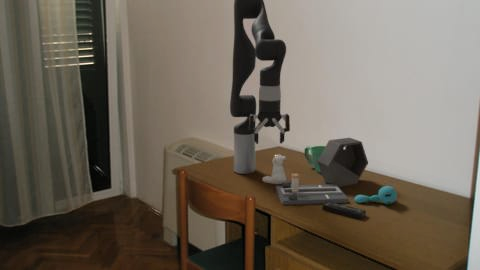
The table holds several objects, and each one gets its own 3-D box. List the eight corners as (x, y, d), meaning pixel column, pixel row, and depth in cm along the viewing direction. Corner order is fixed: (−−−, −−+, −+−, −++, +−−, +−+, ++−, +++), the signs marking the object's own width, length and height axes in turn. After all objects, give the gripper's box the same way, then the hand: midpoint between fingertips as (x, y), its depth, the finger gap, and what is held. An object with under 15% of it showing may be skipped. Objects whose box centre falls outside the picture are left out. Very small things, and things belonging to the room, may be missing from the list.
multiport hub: (360, 221, 166) (360, 214, 166) (322, 210, 175) (322, 204, 175) (366, 217, 170) (366, 210, 169) (328, 207, 178) (328, 201, 178)
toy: (356, 211, 177) (399, 203, 173) (352, 193, 178) (395, 184, 174) (357, 209, 188) (398, 201, 184) (353, 192, 189) (393, 184, 185)
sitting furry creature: (279, 177, 210) (280, 149, 207) (293, 182, 203) (293, 154, 200) (261, 181, 205) (261, 153, 202) (274, 187, 198) (275, 158, 195)
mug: (337, 171, 218) (338, 149, 215) (322, 176, 212) (323, 153, 209) (312, 163, 229) (312, 142, 226) (297, 168, 223) (297, 146, 220)
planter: (321, 178, 193) (347, 132, 194) (310, 172, 200) (335, 128, 201) (350, 195, 201) (375, 151, 202) (338, 189, 208) (363, 146, 209)
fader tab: (291, 189, 189) (291, 173, 187) (296, 189, 189) (297, 173, 188) (292, 192, 186) (293, 176, 184) (298, 192, 186) (299, 176, 184)
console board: (275, 189, 195) (275, 181, 194) (336, 187, 197) (336, 179, 196) (282, 204, 180) (282, 195, 179) (347, 202, 182) (348, 193, 181)
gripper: (288, 96, 178) (287, 140, 182) (248, 96, 177) (248, 140, 181) (291, 99, 170) (290, 145, 174) (250, 100, 169) (249, 146, 173)
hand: (269, 143), depth 177 cm, fingers open, 8 cm apart
